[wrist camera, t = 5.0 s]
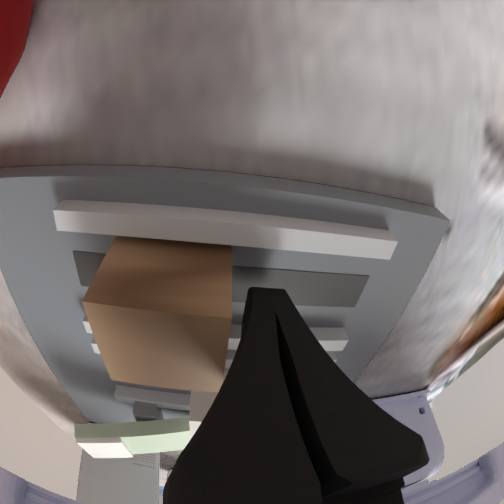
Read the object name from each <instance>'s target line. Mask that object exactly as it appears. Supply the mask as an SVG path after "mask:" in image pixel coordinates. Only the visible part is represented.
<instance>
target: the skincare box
mask: <svg viewBox="0 0 504 504" xmlns="http://www.w3.org/2000/svg"><path fill="white" fill-rule="evenodd" d="M87 424H92V423H89V422H88V423H87ZM159 465H160V452H158V453H146V454H133V457H130V458H93V457H92V456H91V455H90V454H88V453H87V452H86V451H85V450H84V449H82V456H81V463H80V471H79V479H78V488H77V498H76V501H78V502H81V503H84V504H159Z"/></svg>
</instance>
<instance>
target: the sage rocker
mask: <svg viewBox="0 0 504 504" xmlns="http://www.w3.org/2000/svg"><path fill="white" fill-rule="evenodd" d="M74 425H75V438H76V443H77V444H78V445H80V446H81V447H82V448H83V449H84V450H85V451H86V452H87V453H88V454H90V455H91V456H92V457H93V458H130V457H133V454H146V453H158V452H167V451H176V450H184V448H185V447H186V445H187V444H188V442H189V441H190V440H191V436H190V425H189V416H188V417H180V418H172V419H163V420H153V421H141V422H126V423H98V424H77V423H74Z"/></svg>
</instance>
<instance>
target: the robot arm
mask: <svg viewBox="0 0 504 504" xmlns="http://www.w3.org/2000/svg"><path fill="white" fill-rule="evenodd" d="M429 394H430V390H429V389H427V390H423V391H418V392H413V393H408V394H403V395H398V396H393V397H387V398H381V399H374V400H371V399H370V398H369V397H368V396H367V395H366V394H365V393H364V392H362V391H361V390H360V389H359V388H358V387H357V386H356V385H355V384H354V383H353V382H352V381H351V380H350V379H349V378H348V377H347V376H346V375H345V373H344V372H343V371H342V370H341V369H340V368H339V367H338V366H337V364H336V363H335V362H334V361H333V360H332V358H331V357H330V356H329V355H328V353H327V352H326V351H325V349H324V348H323V347H322V345H321V344H320V343H319V341H318V340H317V339H316V337H315V336H314V334H313V333H312V331H311V330H310V328H309V327H308V325H307V324H306V322H305V321H304V319H303V318H302V316H301V315H300V313H299V311H298V310H297V308H296V307H295V305H294V303H293V302H292V300H291V298H290V296H289V295H288V293H287V291H286V290H285V289H278V288H263V287H251V288H249V289H248V292H247V298H246V303H245V308H244V314H243V319H242V327H241V339H240V342H239V345H238V348H237V351H236V354H235V356H234V359H233V361H232V364H231V366H230V368H229V371H228V373H227V375H226V378H225V380H224V382H223V384H222V386H221V388H220V390H219V392H218V394H217V396H216V398H215V400H214V402H213V403H212V405H211V407H210V409H209V410H208V412H207V414H206V416H205V417H204V419H203V421H202V422H201V424H200V426H199V427H198V429H197V431H196V432H195V434H194V435H193V437H192V438H191V440H190V441H189V442H188V444H187V445H186V447H185V448H184V450H183V451H182V453H181V454H180V455H179V457H178V459H177V461H176V463H175V465H174V467H173V469H172V471H171V473H170V475H169V477H168V480H167V482H166V484H165V487H164V491H163V504H499V503H500V501H501V500H503V499H504V442H503V443H502V444H500V445H499V446H497V447H496V448H494V449H492V450H491V451H489V452H488V453H486V454H485V455H483V456H481V457H480V458H479V459H477V460H475V461H473V462H472V463H470V464H468V465H466V466H464V467H463V468H461V469H459V470H457V471H455V472H453V473H451V474H449V475H447V476H446V477H443V478H441V479H439V480H433V481H431V482H430V484H429V482H428V480H427V478H429V477H431V476H433V475H434V474H435V473H436V472H437V471H438V470H439V469H440V467H441V465H442V463H443V459H444V445H443V441H442V438H441V435H440V432H439V430H438V427H437V424H436V422H435V419H434V416H433V413H432V411H431V408H430V406H429V403H428V401H427V398H426V397H427V396H428V395H429ZM425 479H426V480H425ZM422 480H423V481H422ZM420 481H421V482H420ZM418 482H419V483H418ZM415 483H416V484H415ZM413 484H414V485H413ZM0 504H84V503H81V502H78V501H75V500H72V499H69V498H66V497H63V496H61V495H58V494H55V493H53V492H50V491H48V490H46V489H43V488H41V487H39V486H37V485H34V484H32V483H30V482H27V481H26V480H24V479H23V478H21V477H19V476H17V475H15V474H13V473H11V472H9V471H7V470H5V469H3V468H1V467H0Z"/></svg>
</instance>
